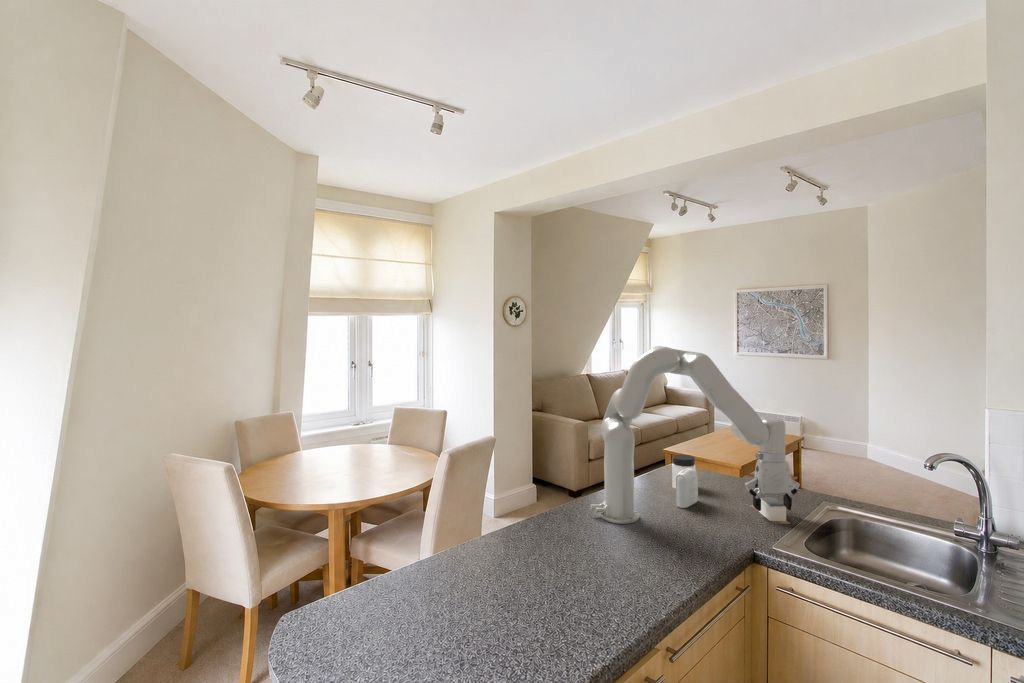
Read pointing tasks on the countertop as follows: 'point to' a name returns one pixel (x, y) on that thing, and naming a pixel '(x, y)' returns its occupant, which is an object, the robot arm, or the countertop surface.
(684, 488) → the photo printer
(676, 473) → the jar
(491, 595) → the countertop surface
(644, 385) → the robot arm
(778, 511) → the white and grey block
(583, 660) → the countertop surface
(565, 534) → the countertop surface
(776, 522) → the strip
